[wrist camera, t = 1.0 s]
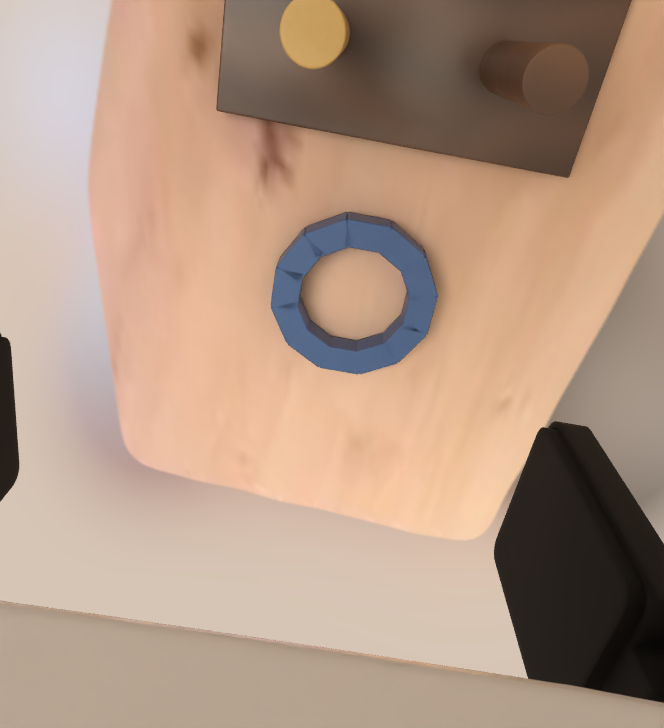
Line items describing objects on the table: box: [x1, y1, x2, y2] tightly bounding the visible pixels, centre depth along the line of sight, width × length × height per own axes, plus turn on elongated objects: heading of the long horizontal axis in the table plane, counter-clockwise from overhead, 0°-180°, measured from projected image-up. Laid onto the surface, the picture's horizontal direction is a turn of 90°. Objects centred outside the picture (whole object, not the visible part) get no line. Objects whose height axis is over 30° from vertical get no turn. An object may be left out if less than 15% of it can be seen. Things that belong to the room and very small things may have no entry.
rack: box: [216, 0, 632, 178], centre depth 26 cm, size 9×19×10 cm, turn 80°
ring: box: [271, 212, 438, 374], centre depth 37 cm, size 10×10×2 cm
